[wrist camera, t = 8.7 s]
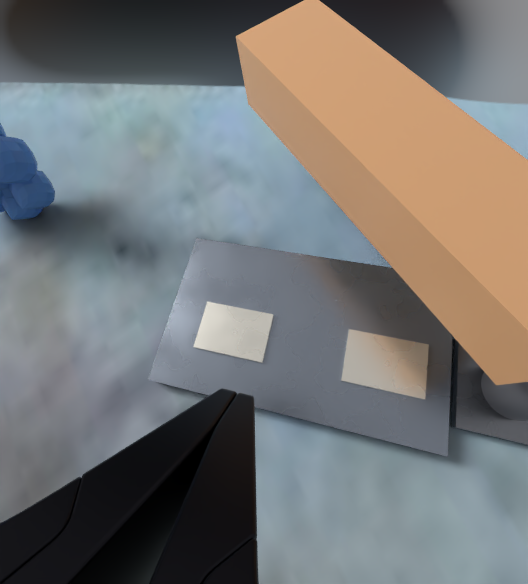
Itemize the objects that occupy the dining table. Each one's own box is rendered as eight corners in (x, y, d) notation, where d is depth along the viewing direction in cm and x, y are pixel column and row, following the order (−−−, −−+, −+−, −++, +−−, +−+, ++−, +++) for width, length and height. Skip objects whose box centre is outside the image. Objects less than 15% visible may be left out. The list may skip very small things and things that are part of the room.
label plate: (447, 283, 20) (456, 275, 19) (439, 453, 17) (449, 457, 15) (200, 244, 23) (195, 236, 22) (155, 380, 20) (145, 379, 19)
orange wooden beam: (573, 389, 16) (881, 368, 7) (497, 443, 16) (730, 486, 7) (310, 120, 25) (313, -33, 16) (257, 150, 24) (230, 10, 16)
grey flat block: (549, 356, 18) (557, 354, 17) (555, 451, 16) (564, 453, 15) (454, 338, 19) (458, 336, 18) (450, 426, 17) (455, 427, 16)
